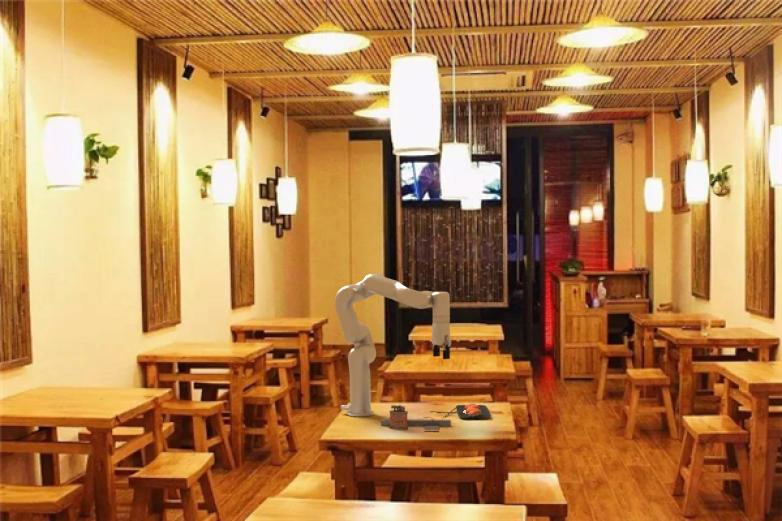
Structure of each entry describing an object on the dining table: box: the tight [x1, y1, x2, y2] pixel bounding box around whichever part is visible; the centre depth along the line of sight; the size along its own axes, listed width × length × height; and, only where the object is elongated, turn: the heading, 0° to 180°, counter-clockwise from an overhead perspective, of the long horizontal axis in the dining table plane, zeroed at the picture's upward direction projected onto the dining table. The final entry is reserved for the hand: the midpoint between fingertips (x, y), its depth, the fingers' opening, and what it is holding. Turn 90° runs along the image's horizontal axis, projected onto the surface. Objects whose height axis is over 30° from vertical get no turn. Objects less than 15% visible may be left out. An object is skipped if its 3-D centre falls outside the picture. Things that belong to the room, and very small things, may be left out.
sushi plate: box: [429, 403, 492, 420], centre depth 396 cm, size 29×30×4 cm
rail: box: [380, 417, 452, 427], centre depth 371 cm, size 30×2×3 cm, turn 85°
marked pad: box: [423, 425, 440, 433], centre depth 364 cm, size 6×11×1 cm, turn 175°
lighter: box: [389, 404, 409, 431], centre depth 365 cm, size 8×3×10 cm, turn 71°
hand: (441, 357), depth 384 cm, fingers open, 9 cm apart
